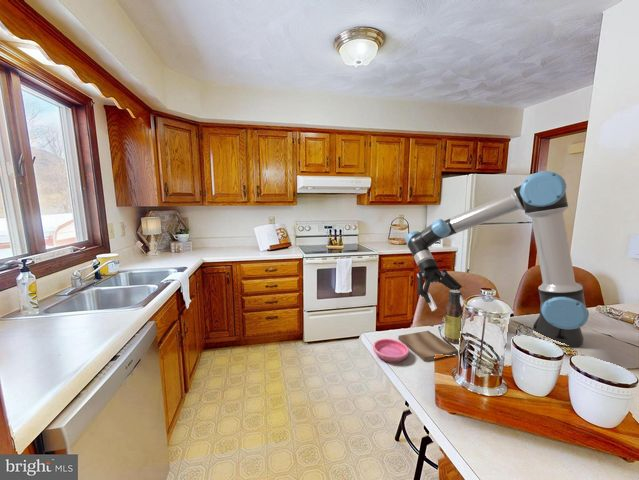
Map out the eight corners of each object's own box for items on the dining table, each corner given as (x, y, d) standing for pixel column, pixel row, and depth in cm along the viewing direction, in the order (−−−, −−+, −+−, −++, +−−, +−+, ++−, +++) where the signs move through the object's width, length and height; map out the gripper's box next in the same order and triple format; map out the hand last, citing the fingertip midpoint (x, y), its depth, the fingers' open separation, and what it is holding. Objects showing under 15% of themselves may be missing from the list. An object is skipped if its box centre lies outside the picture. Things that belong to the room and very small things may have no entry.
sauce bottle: (464, 344, 103) (467, 294, 100) (446, 343, 104) (448, 293, 101) (458, 336, 109) (461, 289, 106) (442, 335, 110) (444, 288, 108)
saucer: (398, 344, 104) (398, 336, 104) (415, 363, 92) (415, 354, 92) (367, 348, 102) (368, 340, 102) (381, 367, 90) (381, 358, 89)
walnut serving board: (428, 334, 112) (428, 330, 111) (457, 354, 96) (458, 350, 96) (398, 339, 108) (398, 335, 108) (424, 361, 93) (424, 357, 92)
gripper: (444, 265, 125) (468, 307, 113) (397, 269, 118) (417, 315, 106) (454, 255, 120) (480, 300, 107) (404, 260, 113) (427, 307, 100)
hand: (449, 307), depth 107 cm, fingers open, 13 cm apart
